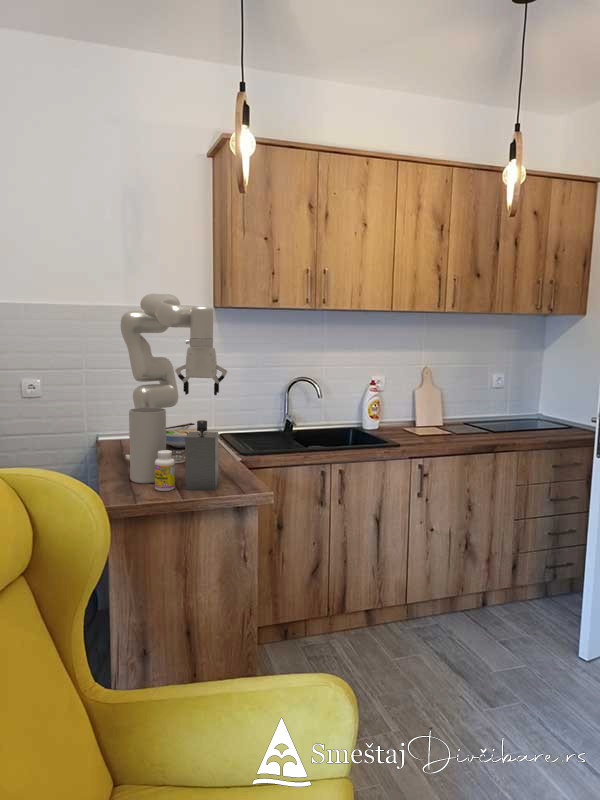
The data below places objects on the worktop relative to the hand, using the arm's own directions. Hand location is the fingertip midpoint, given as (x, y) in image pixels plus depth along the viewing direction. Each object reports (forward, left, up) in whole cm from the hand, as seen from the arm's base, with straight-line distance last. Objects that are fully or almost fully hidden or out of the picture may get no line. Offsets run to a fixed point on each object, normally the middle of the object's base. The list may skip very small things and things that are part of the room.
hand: (201, 394), depth 203 cm
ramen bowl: (-17, +65, -32) cm, 74 cm away
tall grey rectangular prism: (0, +1, -32) cm, 32 cm away
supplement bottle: (-12, -4, -32) cm, 34 cm away
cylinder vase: (-20, +8, -32) cm, 38 cm away
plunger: (0, 0, -30) cm, 30 cm away
